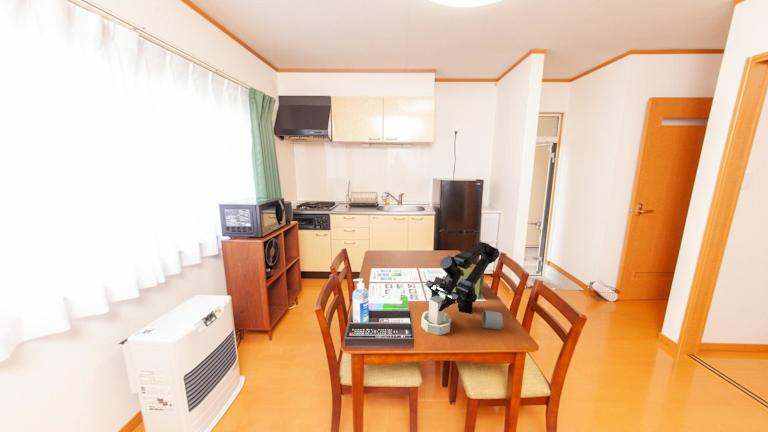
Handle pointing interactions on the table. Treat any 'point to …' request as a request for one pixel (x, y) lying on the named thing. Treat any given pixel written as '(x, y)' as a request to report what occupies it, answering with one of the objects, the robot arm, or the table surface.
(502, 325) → the ceramic mug
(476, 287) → the protein box
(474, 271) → the robot arm
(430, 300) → the pebble canister
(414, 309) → the table surface
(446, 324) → the sage bowl
